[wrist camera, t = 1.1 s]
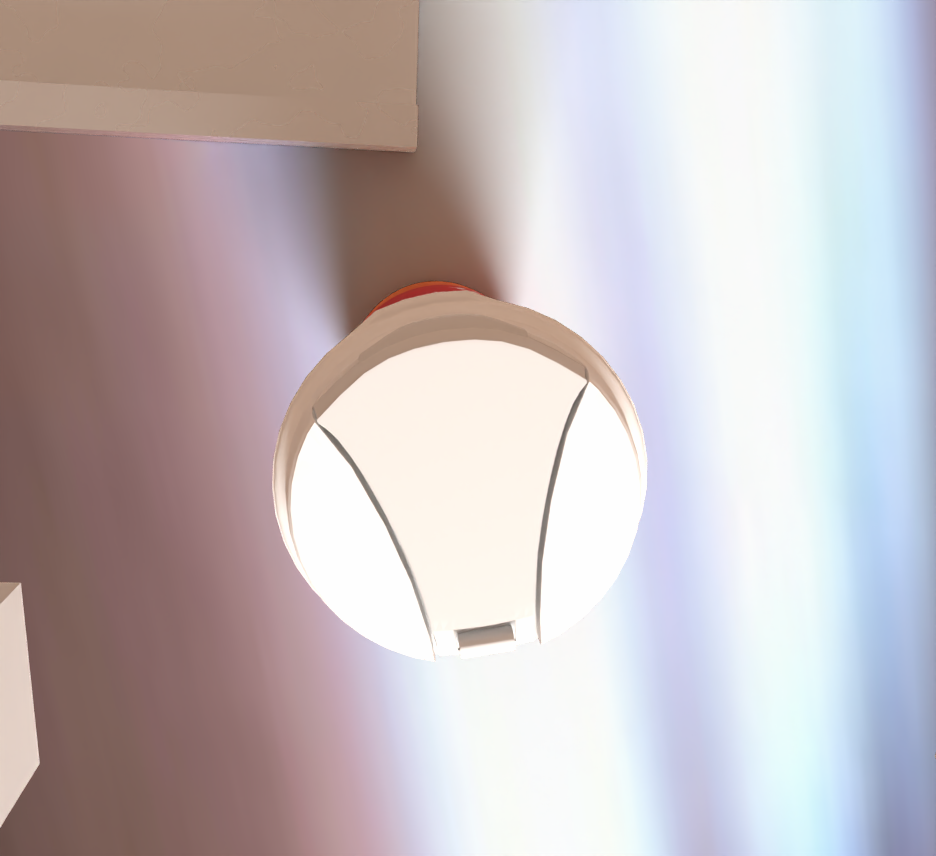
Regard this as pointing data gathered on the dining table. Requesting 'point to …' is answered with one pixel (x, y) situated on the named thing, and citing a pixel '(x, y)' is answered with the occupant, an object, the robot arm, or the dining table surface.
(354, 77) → the channel
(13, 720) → the robot arm
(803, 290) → the dining table surface
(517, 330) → the coffee cup
